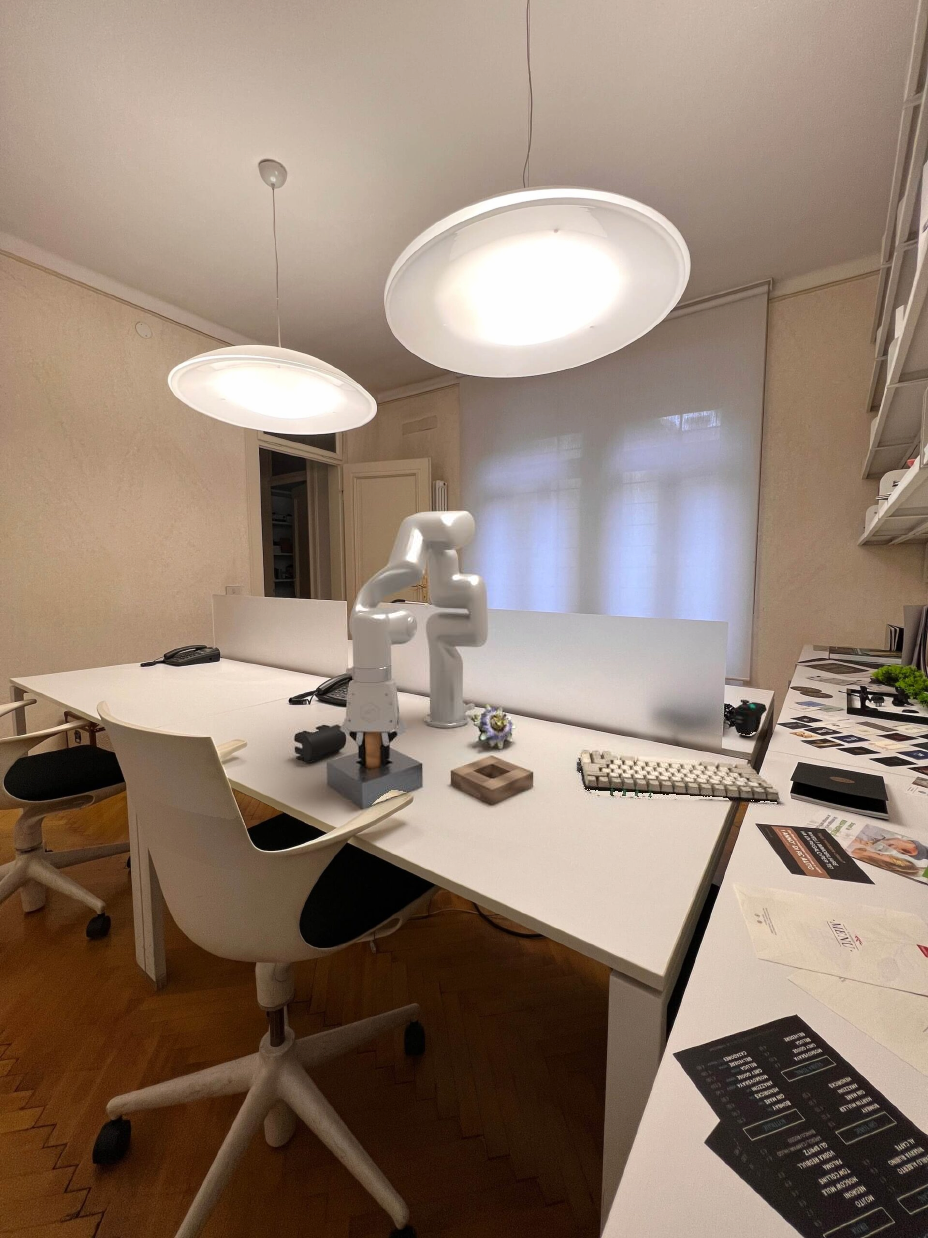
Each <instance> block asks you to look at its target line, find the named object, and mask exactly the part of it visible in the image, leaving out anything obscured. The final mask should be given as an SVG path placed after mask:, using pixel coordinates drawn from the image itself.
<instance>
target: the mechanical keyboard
mask: <svg viewBox="0 0 928 1238" xmlns="http://www.w3.org/2000/svg"><path fill="white" fill-rule="evenodd" d="M578 759H579V761H580V762H579V761H576V772H577V771H578V772H579V773H581V775H580V778H581V777H582V778H581V781H582V785H584V786H583V790H584V789H585V790H587V789H588V790H587V791H590V790H595V791H596V790H598V791H610V795H611V796H614V795H613V792H615V791H618V792H622V791H623V794H622V796H626V792H635V796H637V797H639V796H638V793H642V794H643V793H650V794H649V796H648V797H650V798H651V797H652V796H651V793H653V794H663V795H665V794H666V795H669V794H676V795H690V796H703V797H704V796H705V797H707V796H708V797H710V796H712V797H723V798H728V799H729V800H730V801H729V802H738V803H754V804H759V803H758V802H760V801H764V802H765V801H770V802H777V800H778V801H780V795H779V791H778V790H777V789H776V788H774V786H773V785H772V784H771V783H768V781H766V779H764V778H762V777H761V775H760V774H758V773H757V771H756V770H755V769H753V767H752V766H751V765H750V764H745V763H744V764H743V763H735V765H734V764H733V763H731V762H720V761H719V762H718V763H717V764H716V763H715V762H714V761H702V760H701V761H700V762H699V761H697V760H694V759H693V760H691V759H682V758H681V759H680V758H666V757H652V756H638V757H637V758H636V759H635V757H634V755H621V756H619V758H618V755H616V754H611V751H609V750H608V751H606V750H602V752H600V751H599V750H591V752H590V750H588V749H582V750H581V752H580V757H578V758H577V760H578ZM635 761H636V762H635ZM698 762H699V763H698ZM580 771H581V772H580ZM578 772H577V773H578ZM579 773H578V774H579ZM584 787H585V788H584ZM589 789H590V790H589ZM587 791H586V792H587ZM751 800H752V801H751ZM753 800H754V801H753ZM777 803H778V802H777Z"/></svg>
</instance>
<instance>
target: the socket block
mask: <svg viewBox="0 0 928 1238" xmlns="http://www.w3.org/2000/svg"><path fill="white" fill-rule="evenodd" d="M423 774H424V772H423V762H421V761H418V760H416V759H415V758H412V757H410V756H409V755H407V754H404V753H403V752H400V751H398V750H395V749H394V748H392V747H390V758H389V759H387V761H386V763H385V765H383V766H382V767H379V768H375V769H372V770H368V769H367V768H365V764H364V765H362V764H361V759H359V758H358V752H354V753H351V754H348V755H345V756H344V755H343V756H340V757H337V758H334V759H330V760H327V761H326V780H327V781H326V783H327V786H329V787H330V788H331V789H333V790H334V791H336V792H337V793H339V794H341V795H342V796H343V797H345V798H346V799H347V800H349V801H350V802H352V803H353V804H354V805H356V806H358V807H359V808H361V809H362V810H364V809H367V808H370V807H372V806H371V805H372V804H373V803H374V802H375V801H376V800H377V799H379V798H380V797H381V796H383V795H384V794H386V793H388V792H389V791H391V790H398V791H403V792H407V793H410V792H414V791H415V790H419V789H421V788H423V785H424V784H423V783H424V782H423V781H424V780H423V779H424V778H423V777H424V776H423ZM369 806H370V807H369Z"/></svg>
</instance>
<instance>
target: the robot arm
mask: <svg viewBox="0 0 928 1238" xmlns="http://www.w3.org/2000/svg"><path fill="white" fill-rule="evenodd" d="M475 531H476V523H475V519H474V517H473V515H472V514H471V513H470V512H469V511H466V510H446V511H445V510H443V511H440V510H439V511H438V510H437V511H421V512H418V513H414V514H412V515H409V516H407V517H405V518H404V519H403V521H402V522H401V523H400V526H399V529H398V532H397V536H396V538H395V542H394V544H393V547H392V551H391V553H390V556H389V560H388V563H387V565H386V566H385V567H383V568H382V569H380V570H379V571H378V572H376V573H375V574H374V575H373V576H372V577H371V578H369V579H368V580H367V581H366V583H365V584H364V585H363V586H362V587H361V588H360V590H359V592H358V593H357V596H356V598H355V600H354V604H353V607H352V609H351V612H350V617H349V621H348V622H349V623H348V626H349V627H348V628H349V632H350V635H351V636H352V666H351V667H348V668H346V669H345V674H346V675H347V676H351V677H352V680H350V681H349V682H348V688H347V696H346V705H345V706H346V708H345V709H346V710H345V719H344V721H343V723H342V724H341V725H340V726H341V728H340V730H341V731H342V732H344V733H345V734H346V735H349V737H350V738H351V739H352V740H353V741H354V742H355V744H356V745H357V747H358V749H357V751H358V752H357V753H358V758H359V759H361V764H362V765H364V764H365V732H377V733H382V739H383V742H382V745H381V764H382V765H385V763H386V761H387V759H389V758H390V748H391V747H390V746H391V745H390V744H391V742H393V740H395V739H396V738H397V737H398V736H401V735H402V734H404V733H406V731H407V729H408V726H407V725H406V724H405V722H404V720H403V718H402V716H401V715H400V707H399V705H400V704H399V697H398V696H399V695H398V690H397V685H396V681H395V679H394V678H392V646H393V645H405V644H408V643H409V642H410V641H411V640H413V638H414V637H415V635H416V634H417V629H418V623H417V622H418V621H417V619H416V616H415V615H414V614H413V613H412V612H411V611H410V610H407V609H404V608H389V607H378V606H379V604H380V603H381V602H382V601H383V600H385V599H386V598H388V597H389V596H391V595H393V594H395V593H397V592H400V591H402V590H405V589H408V588H411V587H413V586H415V585H417V584H418V583H420V582H421V581H422V580H423V578H424V576H425V572H426V569H427V579H428V580H427V581H428V583H427V584H428V592H429V593H428V595H429V601H430V603H431V605H433V606H434V607H436V608H441V609H454V610H455V609H456V610H458V609H459V610H460V609H461V610H462V609H463V610H467V612H457V611H440V612H439V611H438V612H435V613H432V614H430V616H429V617H428V618H427V620H426V623H425V633H426V639H427V644H428V654H429V655H428V656H429V713H428V714H427V715H425V716H424V723H425V724H426V725H428V726H431V727H434V728H445V729H446V728H447V729H449V728H457V727H461V726H464V725H466V724H468V722H469V716H468V715H467V714H466V713H468V712H469V711H473V710H475V708H476V706H475V704H474V703H473V702H472V703H468V704H466V703H465V702H464V677H463V676H464V662H463V658H462V656H461V653H460V652H459V650H458V649H457V648H458V647H459V648H460V647H462V648H480V647H483V646H484V645H485V644H486V643H487V641H488V640H487V639H488V636H489V635H488V634H489V627H488V626H489V624H488V623H489V621H488V619H489V618H488V593H487V585H486V583H485V580H484V579H483V578H482V576H480V575H478V574H474V573H460V570H459V568H460V567H459V556H458V553H457V551H456V550H458V549H460V548H463V547H466V546H467V545H468V544H470V543H471V541H472V540H473V539H474V536H475ZM456 647H457V648H456Z"/></svg>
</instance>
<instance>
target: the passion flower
mask: <svg viewBox="0 0 928 1238" xmlns="http://www.w3.org/2000/svg"><path fill="white" fill-rule="evenodd" d="M495 709H496V708H494V707H493V708H491V706H490V705H489V704H488V703H486V705H485V710H484V712H482V713H481V714H478V713H475V714H473V716H471V717H470V720H471V721H472V725H473V726H475V727H477V729H478V731H479V732H480V733H479V735H478V736H477V738H478V740H479V741H484V740H487V744H488V746H489V747H490V748H493V747H494V746H496V748H497V749H498V750H502V749H503V747H504V741H508V742H509V743H512V742H513V737H512V736H513V732H514V731H513V730H515V729H516V728H517V726H518V725H517V724H515V723H513V721H512V716H509V715H508V716H507V714H506V713H504V710H503V708H502V707H499V708H497V709H496V710H495ZM479 717H480V719H479Z"/></svg>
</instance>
